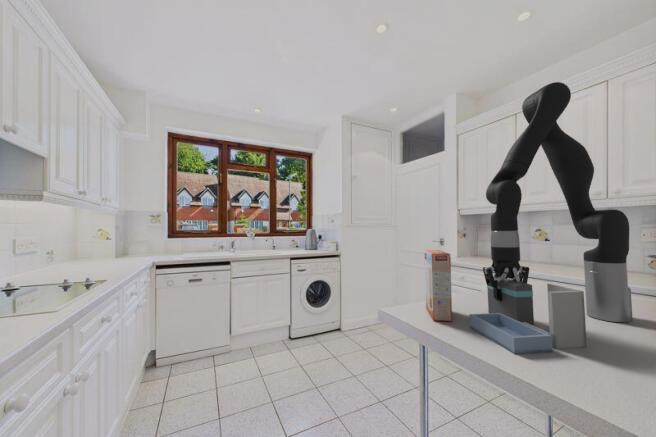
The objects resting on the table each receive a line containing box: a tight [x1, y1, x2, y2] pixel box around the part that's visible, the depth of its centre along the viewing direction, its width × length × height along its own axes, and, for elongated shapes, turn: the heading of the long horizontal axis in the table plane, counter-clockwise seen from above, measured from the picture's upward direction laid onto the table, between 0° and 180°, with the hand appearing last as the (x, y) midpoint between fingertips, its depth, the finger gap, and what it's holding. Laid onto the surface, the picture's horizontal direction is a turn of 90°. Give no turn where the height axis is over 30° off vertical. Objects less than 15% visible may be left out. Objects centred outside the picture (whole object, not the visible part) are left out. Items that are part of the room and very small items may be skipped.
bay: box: [523, 283, 587, 350], centre depth 67 cm, size 8×9×13 cm
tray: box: [468, 312, 553, 355], centre depth 69 cm, size 9×17×4 cm, turn 5°
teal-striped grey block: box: [486, 277, 535, 326], centre depth 81 cm, size 5×12×12 cm, turn 5°
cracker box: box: [424, 249, 453, 322], centre depth 88 cm, size 14×6×21 cm, turn 168°
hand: (507, 300), depth 82 cm, fingers closed on teal-striped grey block, 5 cm apart
